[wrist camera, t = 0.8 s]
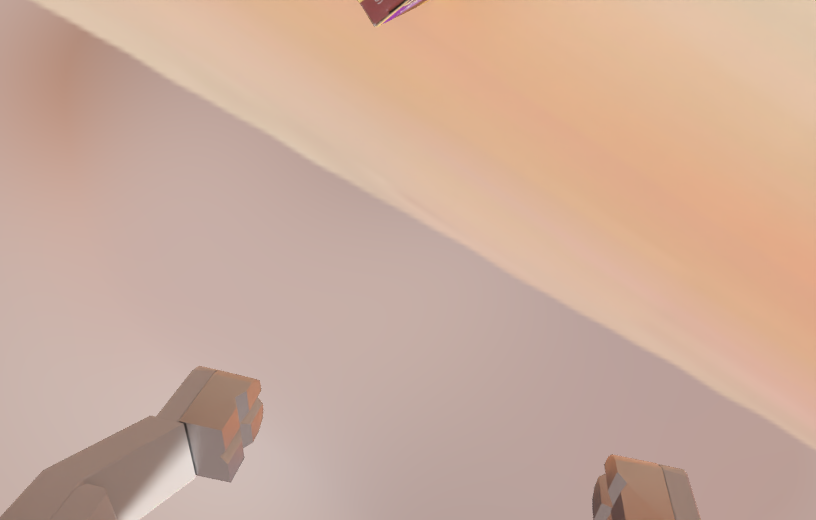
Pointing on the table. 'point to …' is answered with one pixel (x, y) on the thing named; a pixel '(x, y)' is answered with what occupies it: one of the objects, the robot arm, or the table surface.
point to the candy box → (387, 9)
